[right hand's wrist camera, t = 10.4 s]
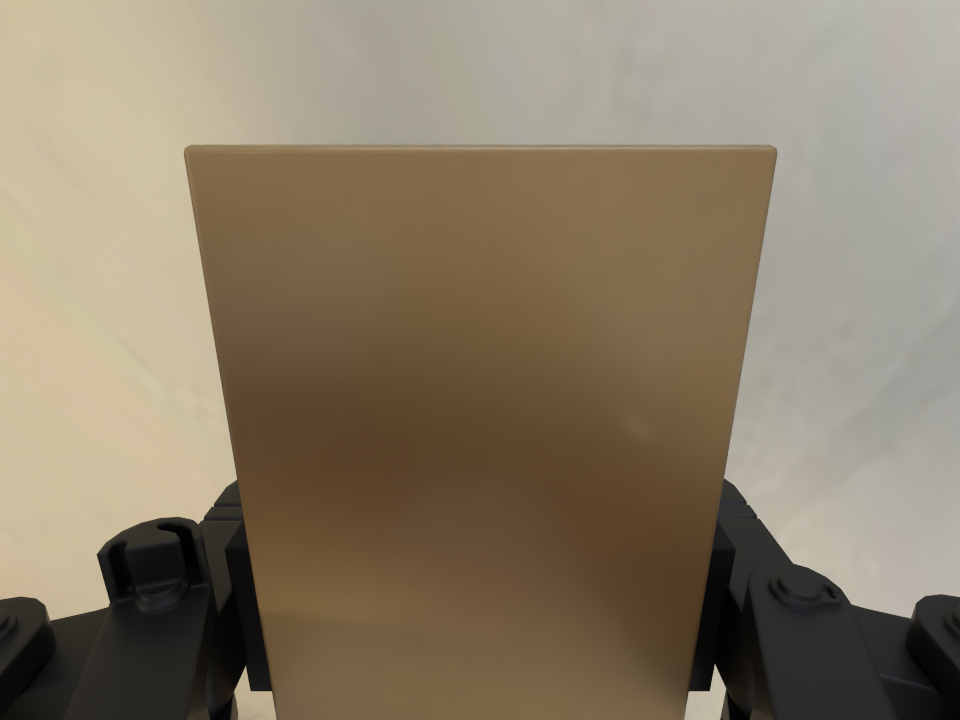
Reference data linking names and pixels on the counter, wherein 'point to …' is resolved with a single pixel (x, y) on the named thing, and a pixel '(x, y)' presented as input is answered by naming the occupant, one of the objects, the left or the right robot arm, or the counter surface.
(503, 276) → the beam
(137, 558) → the right robot arm
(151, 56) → the counter surface
